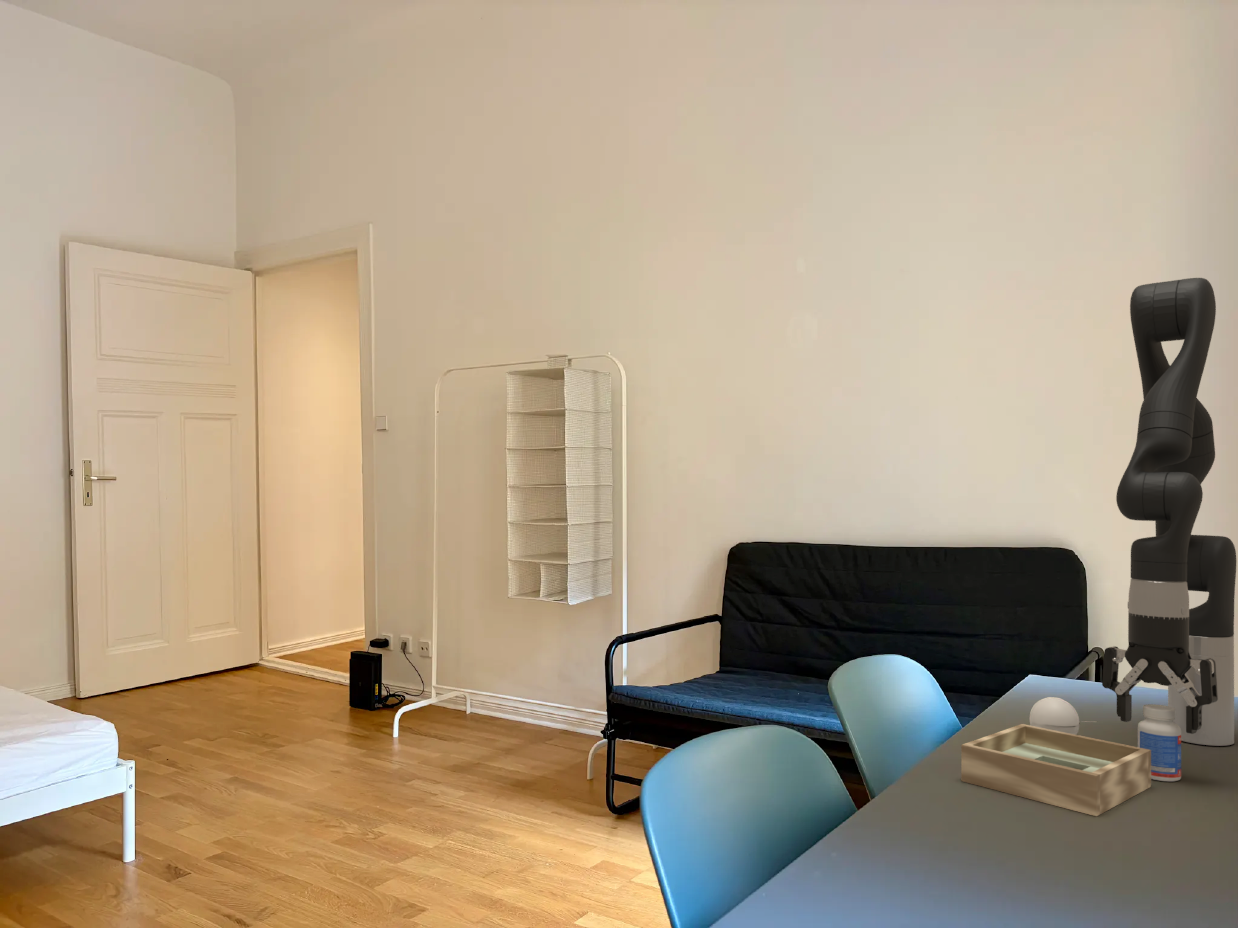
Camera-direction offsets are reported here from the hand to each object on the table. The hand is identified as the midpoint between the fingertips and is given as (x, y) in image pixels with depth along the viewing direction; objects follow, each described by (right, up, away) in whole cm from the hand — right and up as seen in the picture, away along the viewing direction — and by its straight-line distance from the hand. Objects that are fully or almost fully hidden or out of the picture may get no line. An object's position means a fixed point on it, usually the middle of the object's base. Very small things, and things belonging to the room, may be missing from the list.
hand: (1157, 726), depth 133 cm
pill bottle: (0, -7, 0) cm, 7 cm away
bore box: (-16, -7, -4) cm, 18 cm away
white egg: (-6, -8, +16) cm, 19 cm away
